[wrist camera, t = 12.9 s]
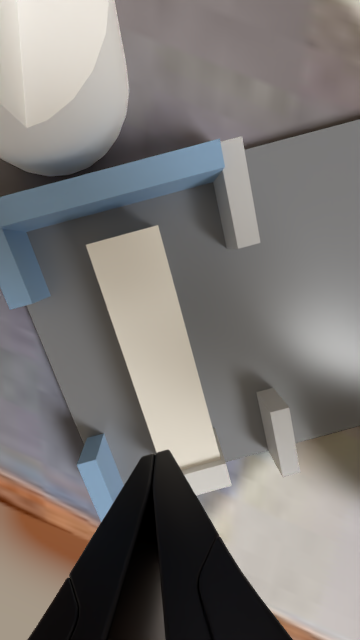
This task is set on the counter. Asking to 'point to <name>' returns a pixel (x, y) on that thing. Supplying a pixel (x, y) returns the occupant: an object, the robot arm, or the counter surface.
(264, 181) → the board
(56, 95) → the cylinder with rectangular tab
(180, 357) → the long cream plank
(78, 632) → the robot arm
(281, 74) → the counter surface
